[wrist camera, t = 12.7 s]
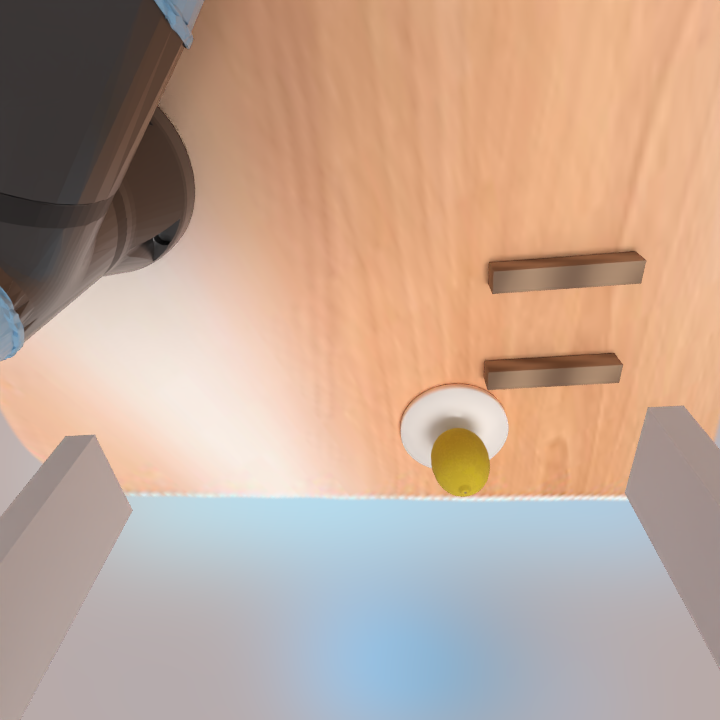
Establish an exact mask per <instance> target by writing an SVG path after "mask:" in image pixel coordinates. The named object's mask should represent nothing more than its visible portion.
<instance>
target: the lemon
mask: <svg viewBox="0 0 720 720" xmlns="http://www.w3.org/2000/svg"><path fill="white" fill-rule="evenodd" d="M431 465H432V470H433V473H434V475H435V477H436V479H437V481H438V483H439V484H440V486H441V487H442V488H443V489H444V490H445V491H447V492H448V493H450V494H452V495H455V496H461V497H465V496H470V495H473V494H475V493H477V492H478V491H480V490H481V489H482V488H483V487H484V485H485V483H486V482H487V480H488V476H489V471H490V461H489V455H488V451H487V449H486V447H485V445H484V443H483V441H482V440H481V439H480V438H479V437H478V436H477V435H476V434H475V433H473V432H472V431H470V430H467V429H464V428H452V429H449V430H447V431H445V432H443V433H442V434H441V435H440V436H438V438H437V439H436V441H435V442H434V444H433V448H432V451H431Z"/></svg>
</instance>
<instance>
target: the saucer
mask: <svg viewBox="0 0 720 720" xmlns="http://www.w3.org/2000/svg"><path fill="white" fill-rule="evenodd" d="M452 428H464V429H467V430H470V431H472V432H473V433H475V434H476V435H477V436H478V437H479V438H480V439H481V440H482V441H483V443H484V445H485V447H486V449H487V451H488V455H489V459H491V458H492V457H493V456H495V455H496V454H497V453H498V452H499V451H500V449H501V448H502V446H503V445H504V443H505V441H506V438H507V435H508V420H507V417H506V414H505V411H504V408H503V407H502V405H501V403H500V402H499V401H498V400H497V398H495V397H494V396H493V395H492V394H490V393H489V392H487V391H486V390H484V389H481V388H479V387H476V386H472V385H467V384H447V385H442V386H438V387H435V388H432V389H430V390H427V391H425V392H424V393H422V394H420V395H419V396H418V397H416V398H415V399H414V400H413V401H412V402H411V403H410V404H409V405H408V407H407V408H406V410H405V412H404V414H403V416H402V420H401V439H402V443H403V445H404V447H405V449H406V451H407V452H408V453H409V455H410V456H411V457H412V458H413V459H415V460H416V461H417V462H419V463H421V464H422V465H424V466H427V467H429V468H432V465H431V451H432V448H433V444H434V442H435V441H436V439H437V438H438V436H440V435H441V434H442V433H443V432H445V431H447V430H449V429H452Z"/></svg>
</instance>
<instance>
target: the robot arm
mask: <svg viewBox="0 0 720 720" xmlns="http://www.w3.org/2000/svg"><path fill="white" fill-rule="evenodd" d="M203 2H204V0H0V361H2V360H6V359H7V358H11V357H13V356H14V355H15V354H16V352H17V351H19V350H20V349H21V348H22V346H23V343H24V342H25V341H26V340H27V339H29V338H30V337H31V336H32V335H33V334H35V333H36V332H37V331H38V330H39V329H40V328H42V327H43V326H44V325H45V324H46V323H48V322H49V321H50V320H51V319H52V318H54V317H55V316H56V315H57V314H58V313H59V312H61V311H62V310H63V309H64V308H65V307H67V306H68V305H69V304H70V303H71V302H72V301H74V300H75V299H76V298H77V297H78V296H80V295H81V294H82V293H83V292H84V291H85V290H87V289H88V288H89V287H90V286H91V285H93V284H94V283H95V282H96V281H97V280H98V279H100V278H101V277H102V276H108V275H114V274H120V273H126V272H131V271H135V270H138V269H141V268H144V267H146V266H148V265H150V264H152V263H154V262H155V261H157V260H159V259H160V258H161V257H163V256H164V255H165V254H166V253H167V252H168V251H169V250H170V249H171V248H172V247H173V246H174V245H175V244H176V243H177V242H178V241H179V240H180V238H181V237H182V236H183V234H184V232H185V231H186V229H187V227H188V224H189V222H190V219H191V216H192V212H193V207H194V197H195V187H194V178H193V172H192V168H191V164H190V161H189V157H188V155H187V152H186V150H185V147H184V145H183V143H182V141H181V139H180V137H179V135H178V134H177V132H176V130H175V129H174V127H173V126H172V124H171V123H170V121H169V120H168V119H167V117H166V116H165V115H164V113H163V112H162V111H161V110H160V109H159V108H158V107H157V105H158V103H159V100H160V98H161V96H162V94H163V92H164V90H165V87H166V85H167V83H168V81H169V79H170V77H171V74H172V72H173V70H174V68H175V66H176V64H177V62H178V59H179V57H180V55H181V53H182V51H183V49H184V47H185V48H187V49H190V47H191V45H192V42H193V35H192V29H193V27H194V24H195V22H196V19H197V17H198V15H199V12H200V10H201V7H202V5H203ZM625 494H626V496H627V498H628V500H629V502H630V503H631V505H632V507H633V509H634V511H635V513H636V514H637V516H638V518H639V520H640V522H641V524H642V526H643V528H644V530H645V531H646V533H647V535H648V537H649V539H650V541H651V542H652V544H653V546H654V548H655V550H656V552H657V554H658V556H659V557H660V559H661V561H662V563H663V565H664V567H665V569H666V570H667V572H668V574H669V576H670V578H671V580H672V581H673V583H674V585H675V587H676V589H677V591H678V593H679V595H680V597H681V598H682V600H683V602H684V604H685V606H686V608H687V610H688V611H689V613H690V615H691V617H692V619H693V621H694V622H695V624H696V626H697V628H698V630H699V632H700V634H701V635H702V637H703V639H704V641H705V643H706V645H707V647H708V649H709V650H710V652H711V654H712V656H713V658H714V660H715V662H716V664H717V665H718V667H719V669H720V449H719V448H718V447H717V446H716V444H715V443H714V442H713V441H712V439H711V438H710V437H709V436H708V435H707V433H706V432H705V431H704V430H703V429H702V427H701V426H700V425H699V424H698V423H697V421H696V420H695V419H694V418H693V417H692V415H691V414H690V413H689V412H688V410H687V409H686V408H685V407H684V406H667V407H648V409H647V413H646V416H645V420H644V424H643V427H642V431H641V435H640V439H639V442H638V446H637V450H636V453H635V457H634V461H633V464H632V468H631V472H630V476H629V479H628V483H627V487H626V490H625ZM131 512H132V508H131V506H130V504H129V502H128V500H127V498H126V496H125V494H124V492H123V490H122V488H121V486H120V484H119V482H118V480H117V478H116V476H115V474H114V472H113V470H112V468H111V466H110V464H109V462H108V460H107V458H106V456H105V454H104V452H103V450H102V448H101V446H100V444H99V442H98V440H97V438H96V436H95V435H80V436H65V438H64V439H63V440H62V441H61V443H60V444H59V445H58V446H57V448H56V449H55V450H54V451H53V453H52V454H51V455H50V456H49V457H48V459H47V460H46V461H45V462H44V464H43V465H42V466H41V467H40V469H39V470H38V471H37V473H36V474H35V475H34V476H33V477H32V479H31V480H30V481H29V482H28V484H27V485H26V486H25V487H24V488H23V490H22V491H21V492H20V493H19V495H18V496H17V497H16V499H15V500H14V501H13V502H12V503H11V505H10V506H9V507H8V508H7V510H6V511H5V512H4V513H3V514H2V516H1V517H0V720H21V718H22V716H23V714H24V712H25V710H26V709H27V707H28V705H29V703H30V701H31V699H32V697H33V695H34V694H35V692H36V690H37V688H38V686H39V684H40V682H41V681H42V679H43V677H44V675H45V673H46V671H47V669H48V668H49V666H50V664H51V662H52V660H53V658H54V656H55V654H56V653H57V651H58V649H59V647H60V645H61V643H62V641H63V640H64V638H65V636H66V634H67V632H68V630H69V628H70V626H71V624H72V623H73V621H74V619H75V617H76V615H77V613H78V611H79V610H80V608H81V606H82V604H83V602H84V600H85V598H86V597H87V595H88V593H89V591H90V589H91V587H92V585H93V584H94V582H95V580H96V578H97V576H98V574H99V572H100V570H101V569H102V567H103V565H104V563H105V561H106V559H107V557H108V555H109V554H110V552H111V550H112V548H113V546H114V544H115V542H116V540H117V539H118V537H119V535H120V533H121V531H122V529H123V527H124V526H125V524H126V522H127V520H128V518H129V516H130V514H131Z"/></svg>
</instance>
